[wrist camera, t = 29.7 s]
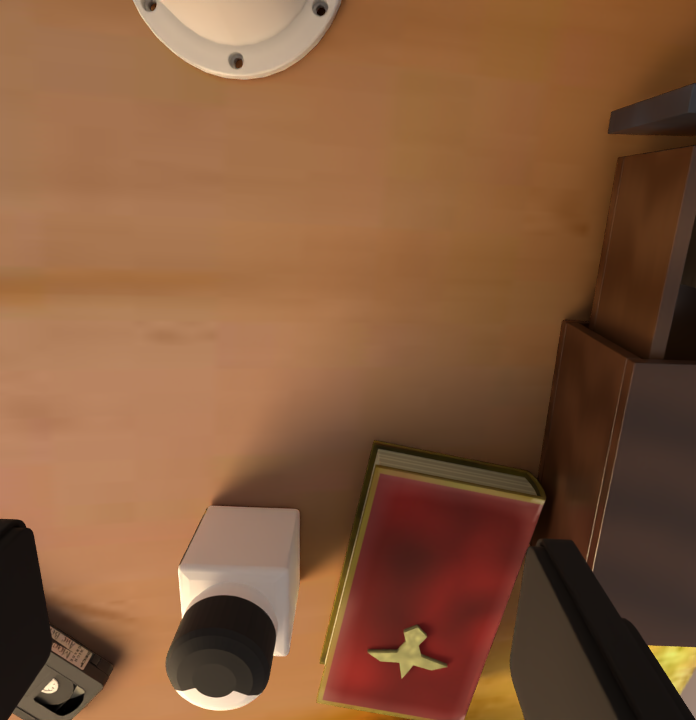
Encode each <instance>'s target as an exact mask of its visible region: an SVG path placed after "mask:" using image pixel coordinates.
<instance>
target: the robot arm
mask: <svg viewBox="0 0 696 720" xmlns="http://www.w3.org/2000/svg"><path fill="white" fill-rule="evenodd" d="M341 1H342V0H133V2H134V4H135V6H136V8H137V9H138V11H139V13H140V15H141V17H142V18H143V20H144V21H145V22H146V24H147V25H148V26H149V28H150V29H151V30H152V32H153V33H154V34H155V36H156V37H157V38H158V39H159V40H160V41H162V42H163V43H164V44H165V45H166V46H167V47H168V48H169V49H170V50H171V51H172V52H173V53H175V54H176V55H177V56H179V57H180V58H181V59H183V60H184V61H185V62H187V63H189V64H191V65H192V66H194V67H196V68H198V69H200V70H202V71H204V72H206V73H210V74H213V75H216V76H220V77H223V78H231V79H243V80H246V79H254V78H261V77H266V76H269V75H272V74H275V73H277V72H280V71H283V70H285V69H287V68H288V67H290V66H291V65H293V64H295V63H296V62H298V61H299V60H301V59H302V58H303V57H304V56H306V55H307V54H308V53H309V52H310V51H311V50H312V49H313V48H314V47H315V46H316V45H317V44H318V43H319V41H320V40H321V38H322V37H323V36H324V34H325V33H326V31H327V30H328V29H329V27H330V26H331V24H332V22H333V19H334V17H335V15H336V13H337V11H338V9H339V7H340V5H341ZM154 3H156V4H157V6H156V8H155V9H154V11H151V6H152V4H154ZM319 8H324V9H325V10H326V11H325V14H324V15H323V16H319V15H318V14H317V10H318V9H319ZM237 60H242V61H243V66H242V67H241V68H236V65H235V64H236V61H237ZM51 649H52V634H51V629H50V623H49V618H48V612H47V606H46V601H45V595H44V590H43V584H42V579H41V573H40V567H39V562H38V556H37V551H36V545H35V539H34V535H33V531H32V530H31V529H29V528H26V526H25V524H24V522H23V521H21V520H17V519H0V720H8V718H9V717H10V715H11V714H12V712H13V711H14V710H15V708H16V707H17V705H18V704H19V702H20V701H21V699H22V698H23V696H24V695H25V693H26V692H27V690H28V689H29V687H30V686H31V684H32V683H33V681H34V680H35V678H36V677H37V675H38V674H39V672H40V671H41V669H42V668H43V666H44V665H45V664H46V662H47V660H48V658H49V656H50V653H51ZM510 671H511V677H512V681H513V684H514V687H515V690H516V694H517V697H518V700H519V703H520V706H521V709H522V712H523V715H524V719H525V720H695V718H694V716H693V715H692V713H691V712H690V710H689V709H688V707H687V706H686V704H685V703H684V701H683V699H682V698H681V696H680V695H679V693H678V692H677V690H676V689H675V687H674V686H673V684H672V682H671V681H670V679H669V678H668V676H667V675H666V673H665V672H664V670H663V669H662V667H661V665H660V664H659V662H658V661H657V659H656V658H655V656H654V655H653V653H652V652H651V650H650V649H649V647H648V645H647V644H646V642H645V641H644V639H643V638H642V636H641V635H640V633H639V632H638V630H637V629H636V627H635V626H634V625H633V624H632V623H631V622H630V621H629V620H627V619H626V618H621V616H620V615H619V613H618V612H617V610H616V608H615V607H614V605H613V604H612V602H611V600H610V599H609V597H608V596H607V594H606V592H605V591H604V589H603V588H602V586H601V584H600V583H599V581H598V580H597V578H596V577H595V575H594V573H593V572H592V570H591V569H590V567H589V565H588V564H587V562H586V561H585V559H584V557H583V556H582V554H581V553H580V551H579V549H578V548H577V546H576V545H575V543H574V542H573V541H572V540H568V539H539V540H538V541H537V543H536V546H530V547H528V549H527V552H526V558H525V564H524V571H523V577H522V583H521V590H520V596H519V603H518V609H517V616H516V622H515V628H514V635H513V641H512V648H511V654H510Z"/></svg>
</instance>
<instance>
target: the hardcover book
mask: <svg viewBox="0 0 696 720" xmlns="http://www.w3.org/2000/svg"><path fill="white" fill-rule="evenodd" d="M545 500H546V495H545V492H544V490H543V488H542V486H541V485H540V483H539V482H538V481H537V479H536V478H535V477H534V476H533V475H532V474H531V473H530V472H528V471H527V470H522V469H517V468H512V467H507V466H502V465H496V464H491V463H486V462H481V461H476V460H471V459H466V458H461V457H456V456H451V455H446V454H441V453H436V452H431V451H426V450H421V449H415V448H410V447H405V446H400V445H395V444H390V443H385V442H380V441H375V440H374V442H373V446H372V450H371V454H370V458H369V462H368V467H367V471H366V475H365V479H364V483H363V487H362V491H361V495H360V499H359V503H358V507H357V511H356V515H355V519H354V523H353V528H352V532H351V536H350V540H349V544H348V548H347V552H346V556H345V560H344V564H343V568H342V572H341V576H340V580H339V584H338V588H337V593H336V597H335V601H334V605H333V609H332V613H331V617H330V621H329V625H328V629H327V633H326V637H325V641H324V645H323V649H322V654H321V658H320V664H325V668H324V672H323V676H322V679H321V683H320V687H319V691H318V695H317V702H316V703H321V704H326V705H332V706H338V707H344V708H349V709H355V710H361V711H367V712H372V713H378V714H384V715H390V716H395V717H401V718H407V719H413V720H464V719H465V716H466V713H467V711H468V708H469V705H470V702H471V700H472V697H473V694H474V692H475V689H476V686H477V684H478V681H479V678H480V675H481V673H482V670H483V667H484V665H485V662H486V659H487V657H488V654H489V651H490V648H491V646H492V643H493V640H494V638H495V635H496V632H497V630H498V627H499V624H500V622H501V619H502V616H503V613H504V611H505V608H506V605H507V603H508V600H509V597H510V595H511V592H512V589H513V586H514V584H515V581H516V578H517V576H518V573H519V570H520V568H521V565H522V562H523V559H524V557H525V554H526V551H527V549H528V546H529V543H530V541H531V538H532V535H533V532H534V530H535V527H536V524H537V522H538V519H539V516H540V514H541V511H542V508H543V505H544V503H545Z"/></svg>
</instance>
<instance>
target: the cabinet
mask: <svg viewBox="0 0 696 720" xmlns="http://www.w3.org/2000/svg"><path fill="white" fill-rule="evenodd" d="M589 323H590V321H581V320H563V321H562V326H561V333H560V339H559V345H558V352H557V358H556V365H555V371H554V378H553V384H552V390H551V397H550V403H549V410H548V416H547V422H546V429H545V435H544V442H543V448H542V455H541V461H540V467H539V474H538V480H537V481H538V482H539V483H540V485H541V486H542V488H543V490H544V492H545V495H546V500H545V503H544V505H543V508H542V511H541V514H540V516H539V519H538V522H537V524H536V527H535V530H534V532H533V535H532V538H531V541H530V543H529V545H530V546H536V543H537V541H538V540H539V539H568V540H572V541H573V542H574V543H575V545H576V546H577V548H578V549H579V551H580V553H581V554H582V556H583V557H584V559H585V561H586V562H587V564H588V565H589V567H590V569H591V570H592V572H593V573H594V575H595V577H596V578H597V580H598V581H599V583H600V584H601V586H602V588H603V589H604V591H605V592H606V594H607V596H608V597H609V599H610V600H611V602H612V604H613V605H614V607H615V608H616V610H617V612H618V613H619V615H620V616H621V618H626V619H627V620H629V621H630V622H631V623H632V624H633V625H634V626H635V627H636V629H637V630H638V632H639V633H640V635H641V636H642V638H643V639H644V641H645V642H646V644H647V645H655V646H681V647H696V361H689V360H659V359H641V358H640V357H638V356H636V355H634V354H633V353H631V352H629V351H627V350H625V349H624V348H622V347H620V346H618V345H617V344H615V343H613V342H611V341H609V340H608V339H606V338H604V337H602V336H601V335H599V334H597V333H595V332H593V331H592V330H590V329H589Z"/></svg>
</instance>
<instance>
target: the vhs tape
mask: <svg viewBox="0 0 696 720" xmlns="http://www.w3.org/2000/svg"><path fill="white" fill-rule="evenodd" d="M50 629H51V634H52V649H51V653H50V656H49V658H48V660H47V662H46V664H45V665H44V666H43V668H42V669H41V671H40V672H39V674H38V675H37V677H36V678H35V680H34V681H33V683H32V684H31V686H30V687H29V689H28V690H27V692H26V693H25V695H24V696H23V698H22V699H21V701H20V702H19V704H18V705H17V707H16V708H15V710H14V711H13V712H12V713H13V714H15V715H16V716H18V717H20V718H21V719H23V720H72V719H73V718H74V717H75V716H76V715H77V714H78V713H79V712H80V711H81V710H82V709H83V708H84V707H85V706H86V705H87V704H88V703H89V702H90V701H91V700H92V699H93V698H94V697H95V696H96V695H97V694H98V693H99V692H100V691H101V690H102V689H103V687H104V685H105V683H106V682H107V680H108V678H109V676H110V674H111V672H112V670H113V665H112V664H111V663H109V662H108V661H106V660H105V659H103V658H102V657H100V656H99V655H97V654H96V653H94V652H93V651H91V650H89V649H88V648H86V647H85V646H83V645H82V644H80V643H79V642H77V641H76V640H74V639H73V638H71V637H69V636H68V635H66V634H65V633H63V632H62V631H60V630H59V629H57V628H56V627H54V626H53V625H51V624H50Z"/></svg>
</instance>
